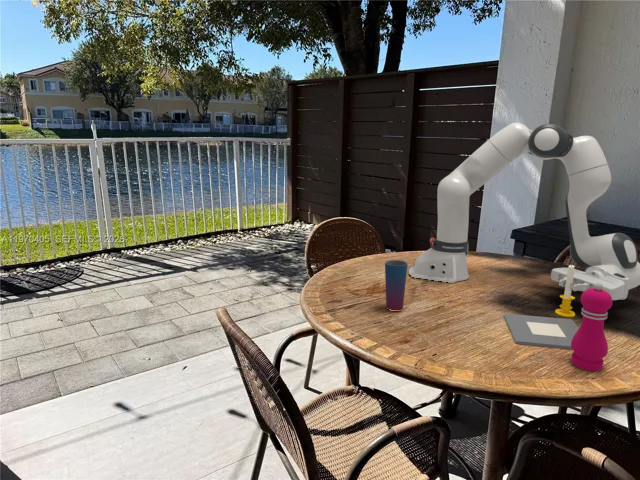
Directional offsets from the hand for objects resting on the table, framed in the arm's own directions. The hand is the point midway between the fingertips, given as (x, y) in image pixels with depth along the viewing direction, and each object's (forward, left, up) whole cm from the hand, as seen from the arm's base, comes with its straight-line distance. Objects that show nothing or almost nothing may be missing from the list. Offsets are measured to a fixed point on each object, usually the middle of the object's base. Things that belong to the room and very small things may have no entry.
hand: (566, 285), depth 124 cm
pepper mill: (-3, -30, -9) cm, 32 cm away
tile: (-8, -14, -9) cm, 19 cm away
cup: (-49, -7, -9) cm, 51 cm away
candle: (+1, +1, -9) cm, 9 cm away
